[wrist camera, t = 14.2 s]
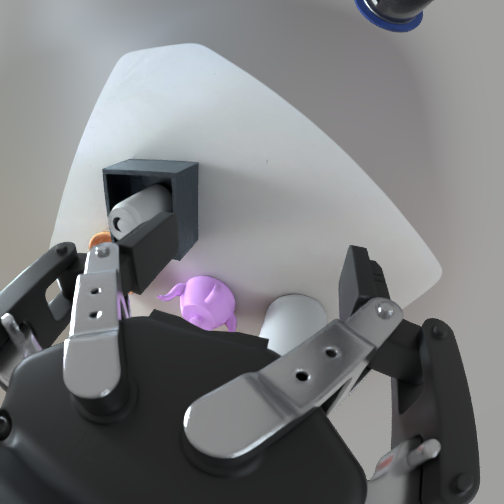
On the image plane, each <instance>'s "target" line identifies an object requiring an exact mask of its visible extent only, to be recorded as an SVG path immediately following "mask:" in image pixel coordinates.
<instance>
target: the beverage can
mask: <svg viewBox="0 0 504 504" xmlns="http://www.w3.org/2000/svg"><path fill="white" fill-rule="evenodd" d="M172 209H173V200H172V195H171V193H170V192H169V191H168V190H167V189H166V188H165V187H164V186H162V185H158V184H154V185H151V186H149V187H147V188H145V189H143V190H142V191H140V192H138V193H136V194H134V195H132V196H131V197H129V198H127V199H125V200H124V201H122V202H120V203H118V204H117V205H115V206H114V208H113V210H112V211H111V212H110V214H109V216H108V225H109V228H110V231H111V232H112V234H113V235H114V237H115V238H117V239H118V240H120V239H121V238H122V237H124V236H125V235H126V234H128V233H130V231H131V230H133V229H135V227H137V226H138V225H139V224H141V223H143V222H145V221H148V220H150V219H151V218H153V217H154V216H155V215H157V214H158V213H159V212H168V213H171V211H172Z"/></svg>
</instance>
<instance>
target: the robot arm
mask: <svg viewBox="0 0 504 504" xmlns="http://www.w3.org/2000/svg"><path fill="white" fill-rule="evenodd" d="M363 1H364V3H365V5H366V7H367V8H368V9H369V10H370V11H371V12H372V13H373V14H374V15H375V16H377V17H378V18H380V19H381V20H383V21H386V22H388V23H392V24H407V23H409V22H411V21H412V20H413V19H414V18H415V17H416V16H417V15H418V14H419V13H420V12H421V11H422V10H423V9H424V8H426V7H427V6H428V5H429V4H430V3H431V2H432V1H433V0H363ZM178 247H179V237H178V218H177V215H176V214H175V213H168V212H159V213H158V214H157V215H155V216H154V217H153V218H151V219H150V220H148V221H145V222H143V223H141V224H139V225H138V226H137V227H135V229H133V230H131V231H130V233H128V234H126V235H125V236H124V237H122V238H121V239H120V240H119V241H117V242H116V243H110V242H106V243H100V244H97V245H95V246H93V247H92V248H91V249H90V250H89V251H88V253H77V251H76V246H75V244H74V243H72V242H64V243H60V244H57V245H55V246H54V247H52V248H51V249H50V250H49V251H47V252H46V253H45V254H43V255H42V256H41V257H40V258H39V259H37V260H36V261H35V262H34V263H33V264H31V265H30V266H29V267H28V268H27V269H25V270H24V271H23V272H22V273H21V274H20V275H19V276H17V278H15V279H14V280H13V281H12V282H11V283H10V284H9V285H8V286H7V287H6V288H4V289H3V290H2V291H1V292H0V386H1V387H2V389H3V390H5V391H6V396H5V399H4V402H3V404H2V406H1V408H0V504H468V503H469V502H471V501H472V500H473V498H474V497H475V495H476V493H477V491H478V489H479V484H480V467H479V452H478V442H477V433H476V425H475V419H474V413H473V407H472V403H471V397H470V392H469V387H468V383H467V379H466V374H465V371H464V367H463V363H462V359H461V356H460V352H459V349H458V346H457V342H456V339H455V336H454V333H453V331H452V329H451V328H450V327H449V326H448V325H447V324H446V323H444V322H443V321H441V320H439V319H435V318H430V319H427V320H425V322H424V323H423V325H422V327H421V326H419V325H416V324H413V323H411V322H409V321H407V320H405V319H403V312H402V309H401V308H400V307H399V306H398V305H397V304H396V303H395V302H393V301H391V299H390V296H389V292H388V288H387V285H386V283H385V282H386V281H385V278H384V274H383V271H382V268H381V267H380V266H379V265H378V263H377V262H376V261H373V260H370V259H369V256H368V252H367V249H366V248H363V247H358V246H353V245H350V246H349V248H348V251H347V255H346V258H345V262H344V265H343V269H342V272H341V276H340V280H339V319H335V320H333V321H331V322H330V323H329V324H327V325H326V326H325V327H323V328H322V329H320V330H319V331H318V332H316V333H315V334H314V335H312V336H311V337H309V338H308V339H306V340H305V341H304V342H302V343H301V344H299V345H298V346H296V347H295V348H293V349H292V350H290V351H289V352H288V353H286V354H285V355H283V356H281V355H280V354H278V353H276V352H275V351H273V350H271V349H268V343H269V339H267V338H262V337H257V336H253V335H249V334H244V333H240V332H224V331H208V330H204V329H202V328H200V327H198V326H196V325H194V324H192V323H190V322H188V321H186V320H185V319H183V318H181V317H179V316H175V315H172V314H168V313H165V312H162V311H158V310H155V309H154V310H153V312H152V313H151V314H150V316H149V317H146V316H140V317H131V310H130V301H129V296H128V294H129V293H130V292H133V293H136V294H139V295H141V294H142V293H143V291H144V290H145V289H146V288H147V287H148V286H149V285H150V283H151V282H152V281H153V280H154V279H155V278H156V277H157V275H158V274H159V273H160V272H161V271H162V270H163V269H164V267H165V266H166V265H167V264H168V263H169V262H170V261H171V260H172V259H173V257H174V256H175V255H176V253H177V251H178ZM56 279H57V281H58V284H59V287H60V289H61V292H60V293H59V294H58V295H57V296H56V297H55V298H54V299H53V300H52V301H51V302H50V303H49V304H48V303H47V301H46V298H45V292H46V289H47V288H48V287H49V286H50V285H51V284H52V283H53V282H54V281H55V280H56ZM70 322H71V328H70V336H69V337H68V338H66V340H65V342H62V343H60V344H57V345H54V346H51V345H52V344H53V343H54V341H55V340H56V339H57V338H58V336H59V335H60V334H61V332H62V331H63V330H64V329H65V328H66V326H67V325H68V324H69V323H70ZM50 346H51V347H50ZM372 370H376V371H378V372H380V373H383V374H385V375H388V376H390V377H391V387H392V388H391V389H392V438H391V451H390V452H388V453H387V454H385V455H384V456H383V457H382V458H381V459H380V460H379V462H378V464H377V465H376V469H375V473H374V475H373V477H372V478H371V479H370V480H367V479H366V475H365V473H364V470H363V468H362V467H361V465H360V464H359V462H358V461H357V459H356V458H355V457H354V455H353V454H352V452H351V451H350V449H349V448H348V447H347V445H346V444H345V442H344V441H343V439H342V438H341V436H340V435H339V433H338V432H337V430H336V429H335V427H334V426H333V425H332V423H331V422H330V420H329V419H328V417H330V416H331V415H332V414H333V413H334V412H335V410H336V409H337V408H338V407H339V406H340V405H341V403H342V402H343V401H344V400H345V399H346V398H347V397H348V396H349V395H350V394H351V393H352V392H353V391H354V390H355V388H356V387H358V385H359V384H360V383H361V382H362V381H363V380H364V379H365V378H366V377H367V375H368V374H369V373H370V372H371V371H372Z"/></svg>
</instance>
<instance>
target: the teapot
mask: <svg viewBox="0 0 504 504" xmlns="http://www.w3.org/2000/svg"><path fill="white" fill-rule="evenodd" d="M174 296H181V297H180V306H181V312H182V315H183V318H184V319H185V320H186V321H188V322H190V323H192V324H194V325H196V326H198V327H200V328H202V329H204V330H212V329H215V328H217V327H219V326H221V325H223V324H224V323H225V324H226V325H227V327H228V329H229V332H235V330H236V327H237V318H236V316H235V314H234V310H235V305H236V304H235V298H234V296H233V294H232V292H231V290H230V289H229V288H228V287H227V286H226V285H225V284H224V283H223V282H221V281H219V280H218V279H215V278H213V277H209V276H197V277H194V278H192V279H190V280H189V281H188V282H187V283H180V284H177V285H176V286H174V287H173V288H172V290H171V291H170V292H169V293H168V294H167V295H164V296H157V298H158V299H160V300H162V301H169V300H171V299H172V298H173V297H174Z"/></svg>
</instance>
